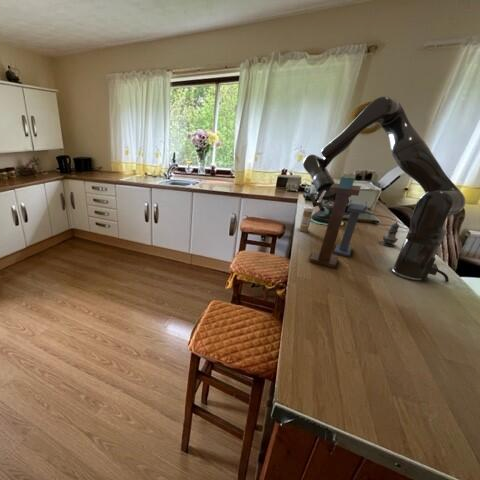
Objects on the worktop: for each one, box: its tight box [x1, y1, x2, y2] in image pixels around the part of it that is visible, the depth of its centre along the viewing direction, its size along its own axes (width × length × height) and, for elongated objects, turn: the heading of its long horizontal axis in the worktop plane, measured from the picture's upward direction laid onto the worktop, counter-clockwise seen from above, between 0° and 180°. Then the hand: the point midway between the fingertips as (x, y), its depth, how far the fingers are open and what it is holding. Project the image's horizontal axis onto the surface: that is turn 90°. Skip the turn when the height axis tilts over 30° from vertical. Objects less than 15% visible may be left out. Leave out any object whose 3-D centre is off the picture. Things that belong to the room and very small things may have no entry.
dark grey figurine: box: [380, 221, 400, 248], centre depth 124 cm, size 6×6×12 cm
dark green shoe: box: [310, 204, 344, 226], centre depth 160 cm, size 15×19×20 cm
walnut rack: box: [309, 183, 361, 269], centre depth 103 cm, size 9×10×32 cm
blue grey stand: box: [333, 199, 368, 258], centre depth 114 cm, size 6×10×23 cm, turn 142°
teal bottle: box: [338, 173, 357, 189], centre depth 99 cm, size 4×19×4 cm, turn 142°
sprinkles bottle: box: [298, 206, 315, 233], centre depth 141 cm, size 5×5×14 cm
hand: (335, 206), depth 106 cm, fingers open, 8 cm apart
